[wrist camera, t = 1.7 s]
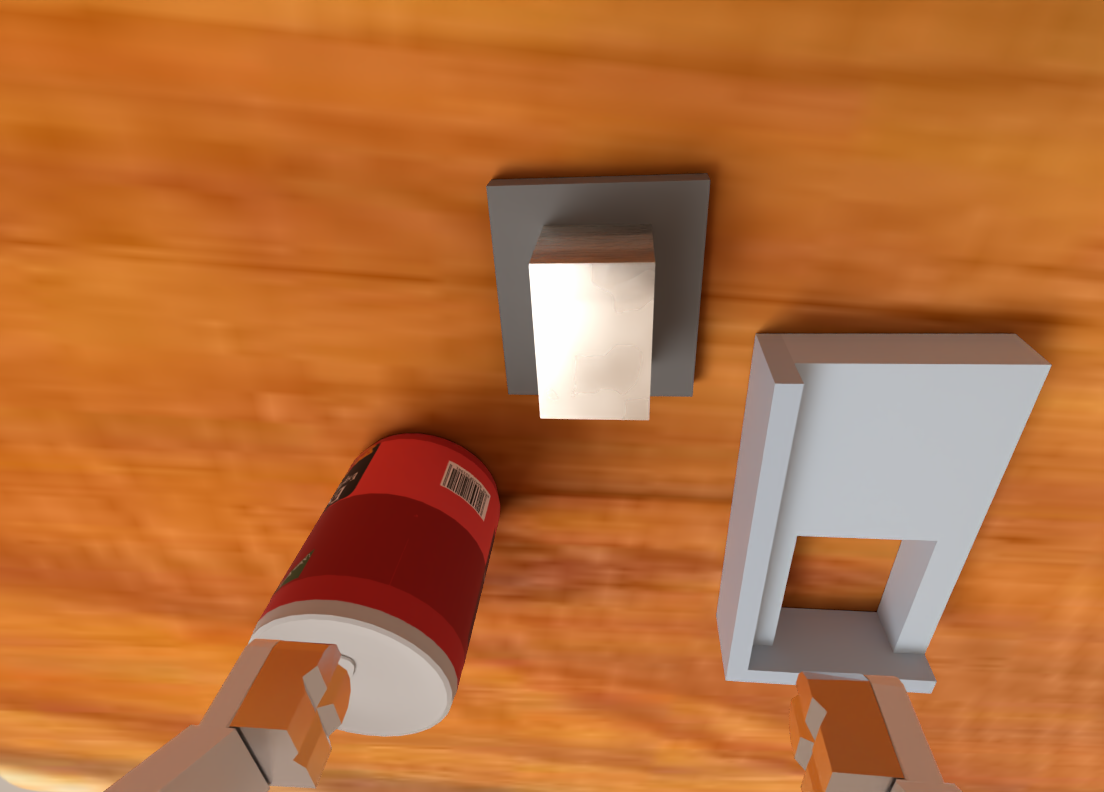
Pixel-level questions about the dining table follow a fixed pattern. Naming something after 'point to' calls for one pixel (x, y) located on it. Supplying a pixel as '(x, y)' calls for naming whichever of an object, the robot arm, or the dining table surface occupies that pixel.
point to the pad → (602, 201)
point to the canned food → (394, 579)
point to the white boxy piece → (593, 320)
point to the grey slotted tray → (865, 489)
